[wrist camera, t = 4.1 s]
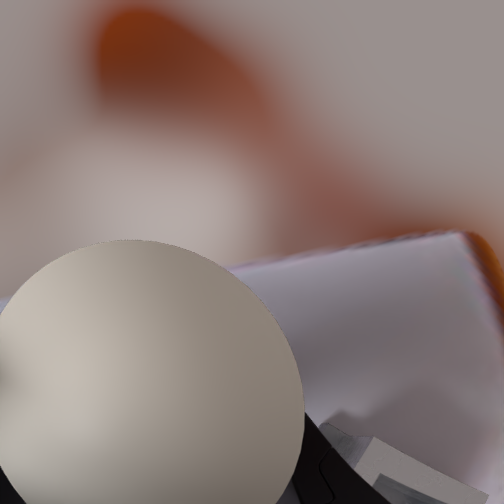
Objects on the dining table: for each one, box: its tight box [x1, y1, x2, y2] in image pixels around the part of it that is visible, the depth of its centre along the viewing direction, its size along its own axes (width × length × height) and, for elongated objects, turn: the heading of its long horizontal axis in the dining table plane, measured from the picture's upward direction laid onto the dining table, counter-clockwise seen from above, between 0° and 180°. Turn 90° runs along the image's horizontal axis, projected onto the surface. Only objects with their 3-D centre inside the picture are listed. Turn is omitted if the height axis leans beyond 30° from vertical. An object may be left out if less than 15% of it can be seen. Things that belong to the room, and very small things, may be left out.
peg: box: [0, 240, 305, 504], centre depth 8 cm, size 4×4×12 cm
